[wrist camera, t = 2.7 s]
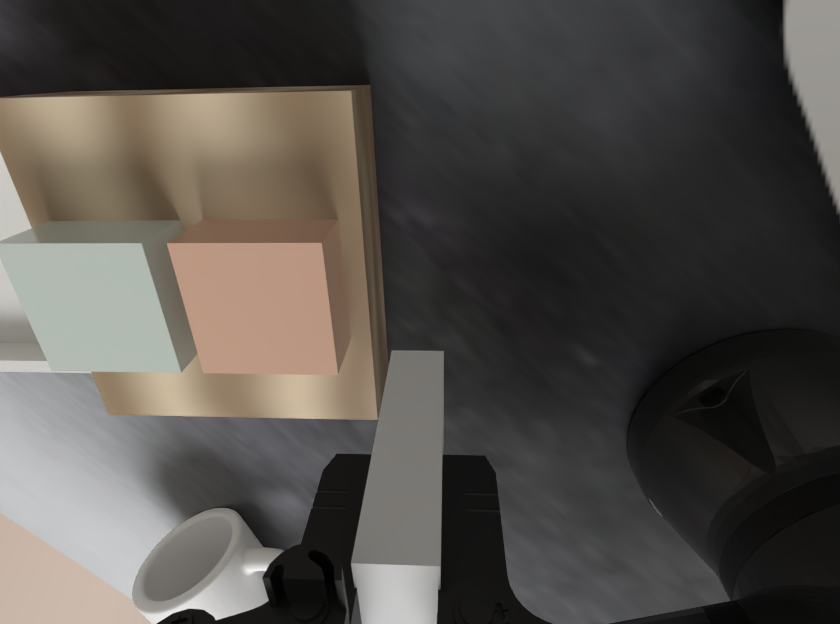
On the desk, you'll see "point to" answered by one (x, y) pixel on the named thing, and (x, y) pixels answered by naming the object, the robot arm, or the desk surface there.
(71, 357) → the tile grey
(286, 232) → the tile terracotta
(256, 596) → the mug
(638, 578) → the desk surface
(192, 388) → the oak board
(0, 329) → the tray
